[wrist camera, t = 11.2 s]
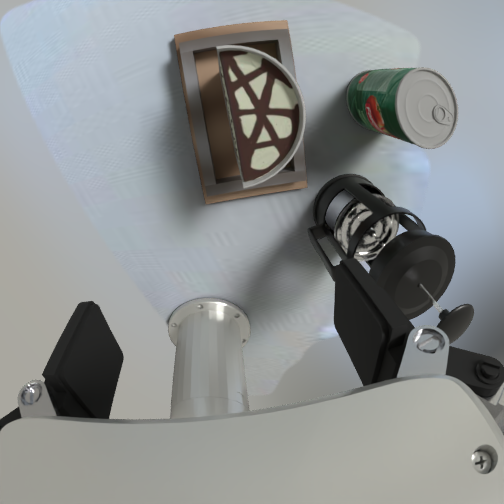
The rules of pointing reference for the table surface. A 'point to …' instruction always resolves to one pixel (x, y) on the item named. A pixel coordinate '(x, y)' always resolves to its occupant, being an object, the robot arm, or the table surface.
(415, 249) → the french press
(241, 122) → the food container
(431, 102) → the canned tomato
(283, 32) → the wooden tray
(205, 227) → the table surface
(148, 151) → the table surface
